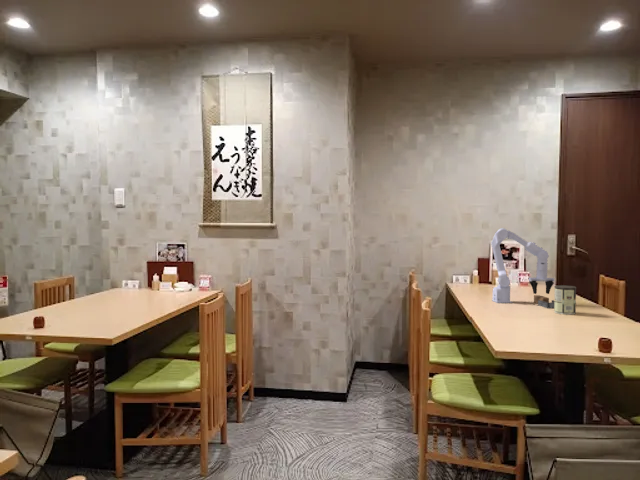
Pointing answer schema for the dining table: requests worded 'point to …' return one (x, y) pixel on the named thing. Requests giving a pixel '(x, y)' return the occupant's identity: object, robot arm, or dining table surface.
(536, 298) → the brown rectangular block
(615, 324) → the dining table surface
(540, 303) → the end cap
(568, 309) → the coffee can
